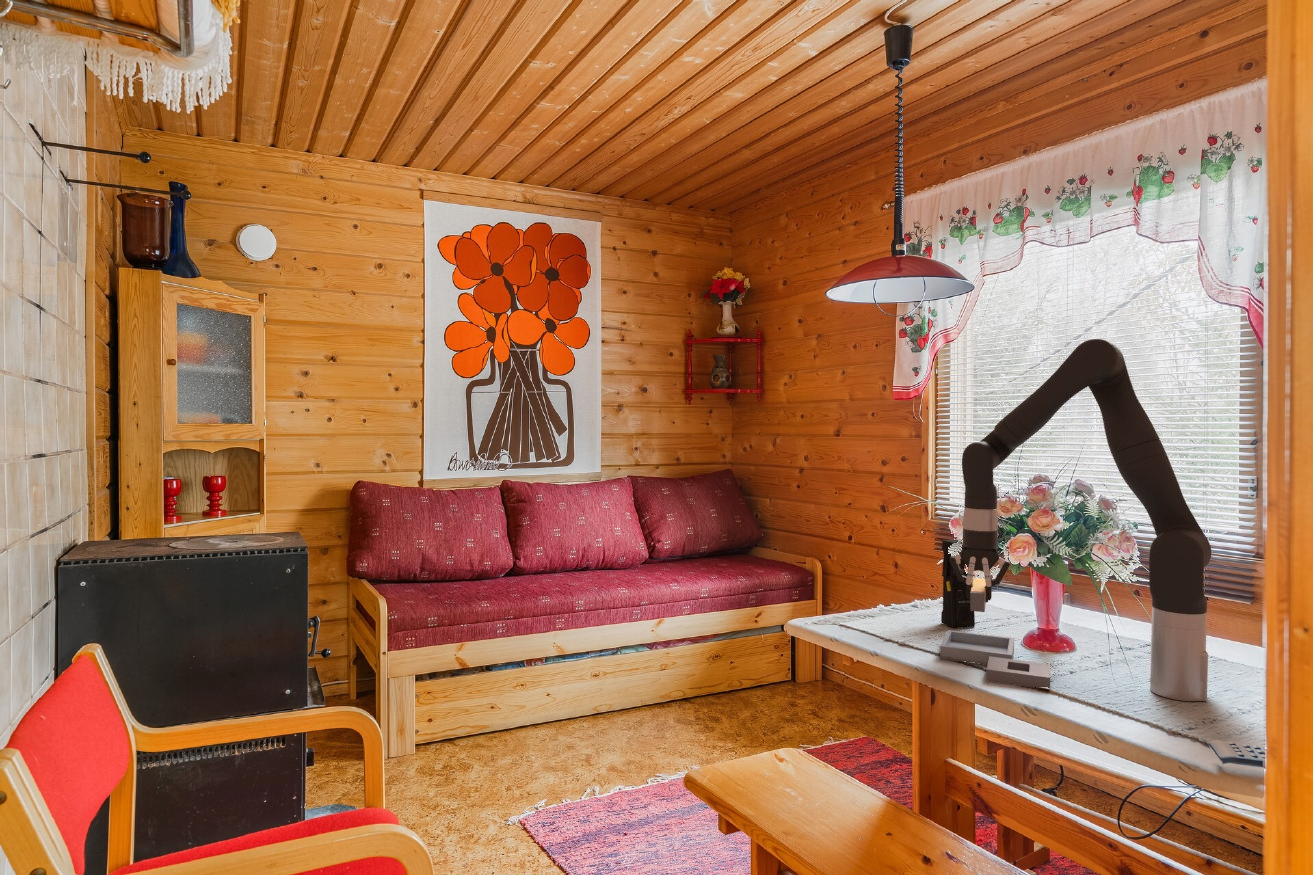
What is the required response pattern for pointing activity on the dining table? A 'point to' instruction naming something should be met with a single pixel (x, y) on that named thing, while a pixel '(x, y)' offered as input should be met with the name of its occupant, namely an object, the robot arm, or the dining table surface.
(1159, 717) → the dining table surface
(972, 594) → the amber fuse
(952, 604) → the portable radio
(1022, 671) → the socket plate
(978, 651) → the grey tray
